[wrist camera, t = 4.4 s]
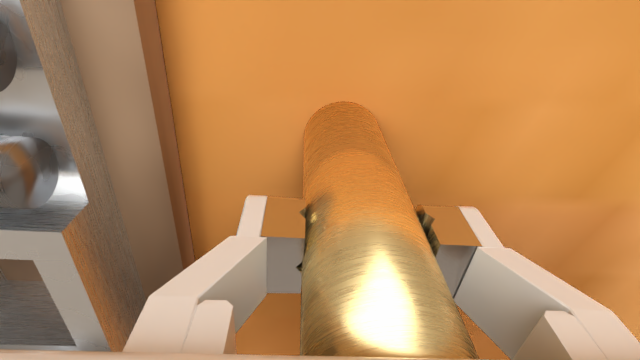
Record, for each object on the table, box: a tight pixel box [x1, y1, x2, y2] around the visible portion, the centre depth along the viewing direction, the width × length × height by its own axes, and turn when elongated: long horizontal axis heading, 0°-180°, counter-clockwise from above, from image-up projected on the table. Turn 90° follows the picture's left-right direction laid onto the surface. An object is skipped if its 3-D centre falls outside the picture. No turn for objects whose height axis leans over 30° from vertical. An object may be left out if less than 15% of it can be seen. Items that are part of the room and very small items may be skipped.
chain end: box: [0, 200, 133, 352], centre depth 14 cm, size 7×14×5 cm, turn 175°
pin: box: [300, 102, 479, 359], centre depth 9 cm, size 3×3×10 cm
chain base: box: [0, 0, 195, 302], centre depth 15 cm, size 11×22×2 cm, turn 175°
